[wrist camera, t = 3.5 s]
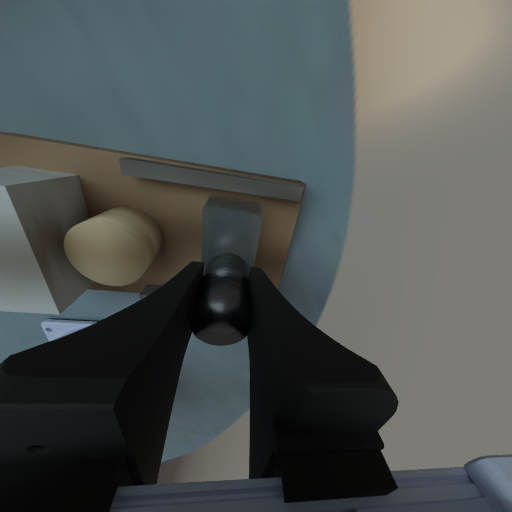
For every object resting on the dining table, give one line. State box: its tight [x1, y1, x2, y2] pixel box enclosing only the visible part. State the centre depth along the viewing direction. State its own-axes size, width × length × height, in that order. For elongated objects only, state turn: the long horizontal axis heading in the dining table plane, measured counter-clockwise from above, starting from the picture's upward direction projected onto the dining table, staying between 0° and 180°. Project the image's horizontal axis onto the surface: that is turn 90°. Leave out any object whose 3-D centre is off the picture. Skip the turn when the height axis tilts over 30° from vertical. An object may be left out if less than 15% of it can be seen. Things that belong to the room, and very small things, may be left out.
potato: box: [64, 206, 164, 286], centre depth 12 cm, size 4×4×3 cm
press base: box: [0, 132, 306, 314], centre depth 12 cm, size 10×18×6 cm, turn 81°
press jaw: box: [190, 195, 263, 346], centre depth 11 cm, size 7×3×7 cm, turn 171°
